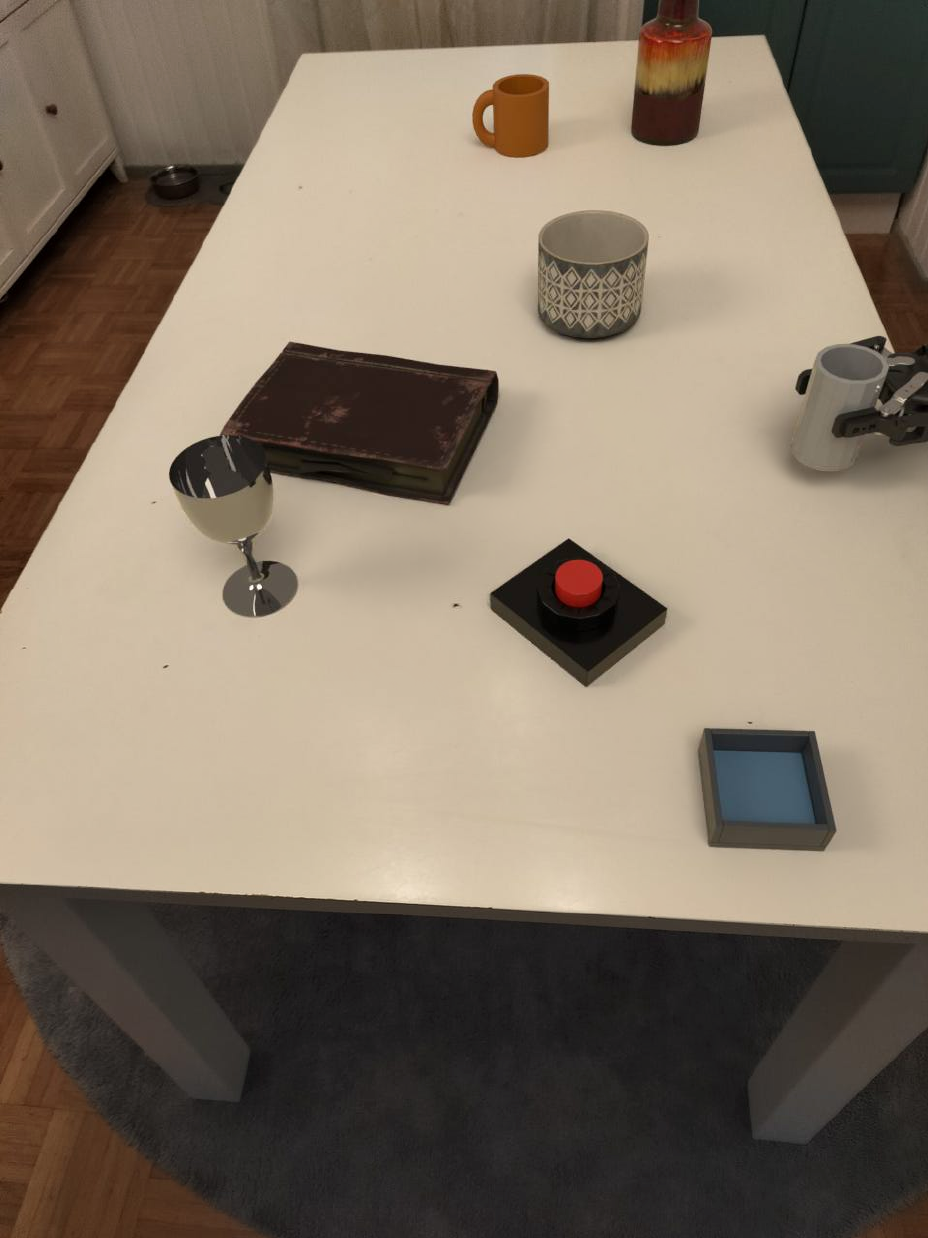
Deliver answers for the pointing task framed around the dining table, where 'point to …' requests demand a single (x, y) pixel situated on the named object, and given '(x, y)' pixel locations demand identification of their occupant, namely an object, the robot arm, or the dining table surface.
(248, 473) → the wine glass
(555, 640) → the control block
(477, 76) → the dining table surface
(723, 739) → the tray
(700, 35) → the vase
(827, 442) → the tumbler
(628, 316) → the planter
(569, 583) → the button
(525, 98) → the mug
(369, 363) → the diary
